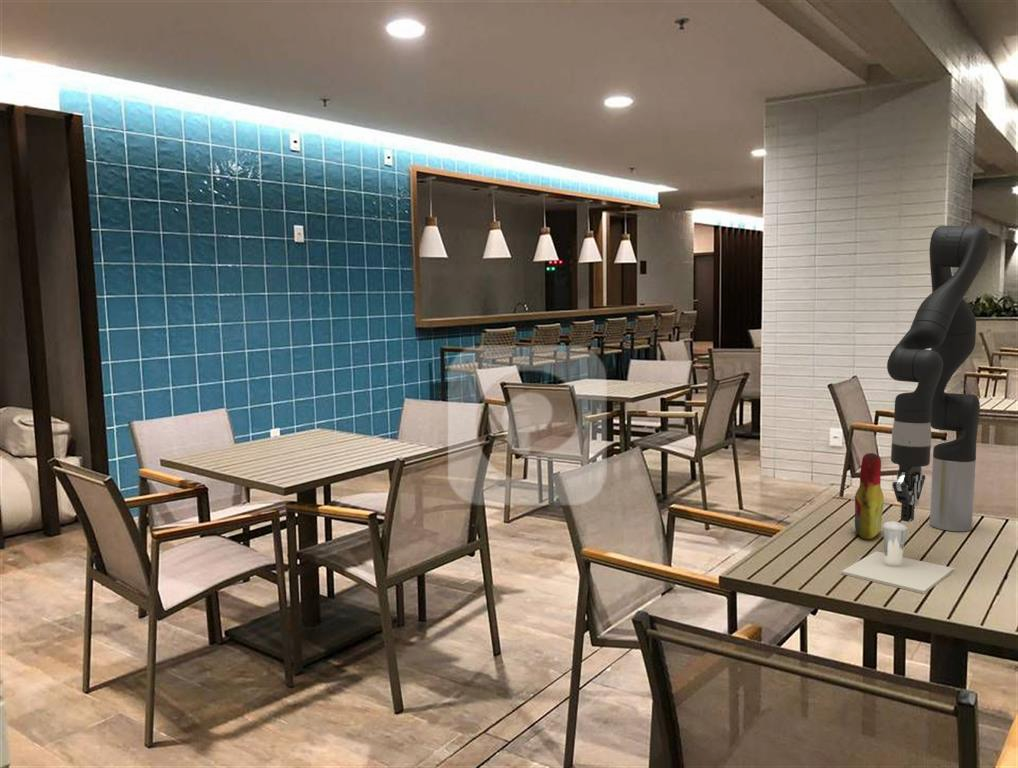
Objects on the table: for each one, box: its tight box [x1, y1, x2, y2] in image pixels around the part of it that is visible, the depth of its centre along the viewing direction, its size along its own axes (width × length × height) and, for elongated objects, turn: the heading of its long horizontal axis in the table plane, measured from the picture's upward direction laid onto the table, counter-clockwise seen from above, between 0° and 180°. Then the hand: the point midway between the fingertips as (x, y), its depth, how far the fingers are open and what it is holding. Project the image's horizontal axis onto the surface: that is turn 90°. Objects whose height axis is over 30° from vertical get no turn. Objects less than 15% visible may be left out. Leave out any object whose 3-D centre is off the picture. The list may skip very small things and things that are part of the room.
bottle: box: [854, 452, 885, 540], centre depth 191 cm, size 12×6×20 cm, turn 150°
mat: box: [841, 550, 955, 595], centre depth 166 cm, size 18×16×1 cm
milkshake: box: [882, 519, 912, 566], centre depth 169 cm, size 5×5×10 cm
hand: (907, 520), depth 174 cm, fingers closed
